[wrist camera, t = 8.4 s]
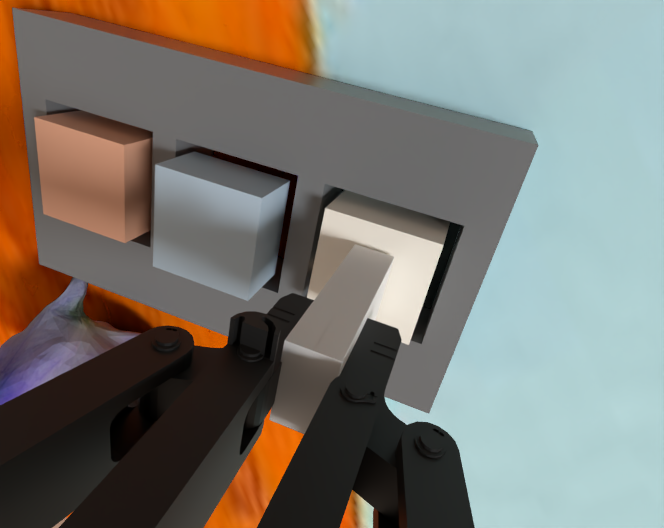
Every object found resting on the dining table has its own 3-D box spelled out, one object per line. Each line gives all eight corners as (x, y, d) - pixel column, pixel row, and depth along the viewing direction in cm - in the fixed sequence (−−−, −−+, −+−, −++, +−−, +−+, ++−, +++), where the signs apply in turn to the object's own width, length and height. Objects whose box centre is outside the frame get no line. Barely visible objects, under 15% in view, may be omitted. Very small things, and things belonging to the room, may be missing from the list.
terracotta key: (82, 110, 22) (34, 117, 19) (164, 135, 21) (124, 145, 19) (86, 198, 24) (43, 213, 21) (161, 224, 23) (124, 243, 21)
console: (70, 12, 22) (12, 7, 19) (532, 131, 18) (538, 145, 15) (83, 243, 27) (39, 264, 25) (436, 372, 23) (428, 413, 21)
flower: (-88, 273, 22) (-60, 490, 21) (87, 224, 22) (128, 436, 21) (40, 293, 31) (66, 444, 30) (164, 258, 31) (197, 407, 30)
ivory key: (345, 189, 19) (325, 208, 17) (450, 221, 18) (443, 244, 16) (325, 280, 21) (304, 307, 19) (418, 312, 20) (409, 345, 18)
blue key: (194, 151, 20) (155, 164, 17) (290, 180, 19) (262, 198, 17) (188, 243, 22) (152, 266, 19) (274, 273, 21) (247, 300, 19)
